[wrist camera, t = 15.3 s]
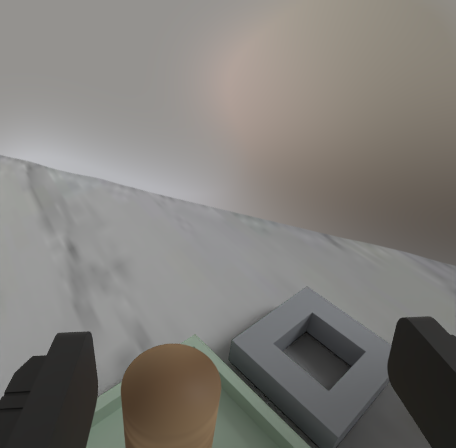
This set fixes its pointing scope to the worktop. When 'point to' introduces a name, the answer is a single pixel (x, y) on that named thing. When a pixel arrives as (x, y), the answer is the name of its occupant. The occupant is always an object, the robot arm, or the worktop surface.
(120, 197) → the worktop surface
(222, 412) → the tray
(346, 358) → the socket block
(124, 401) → the dowel
